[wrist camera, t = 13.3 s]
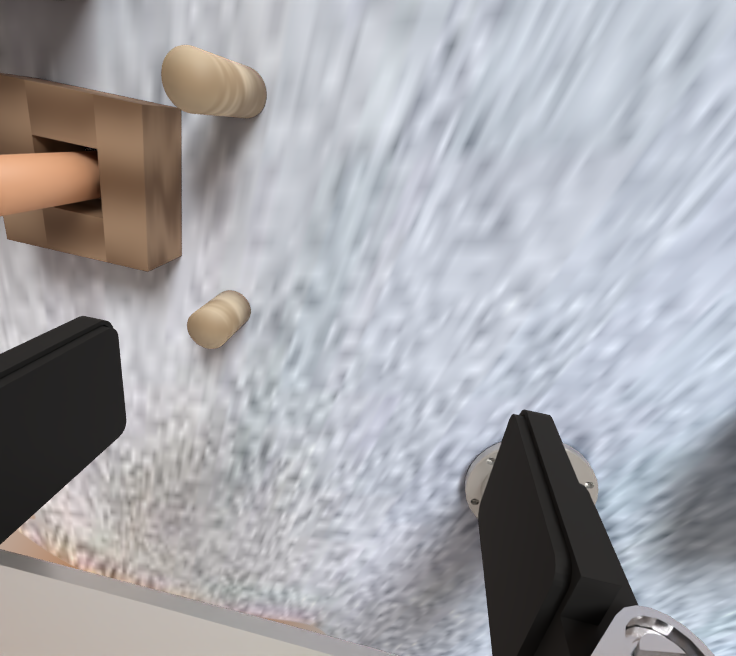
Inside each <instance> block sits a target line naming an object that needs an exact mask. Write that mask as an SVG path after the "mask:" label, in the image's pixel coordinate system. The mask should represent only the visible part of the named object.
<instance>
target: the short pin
mask: <svg viewBox="0 0 736 656" xmlns="http://www.w3.org/2000/svg"><path fill="white" fill-rule="evenodd" d="M250 314H251V308H250V305H249V302H248V301H247V299H246V298H245V297H244V296H243V295H242V294H240V293H238V292H236V291H232V290H228V291H224V292H222V293H220V294H219V295H217V296H216V297H215V298H213V299H212V300H211V301H209V302H208V303H206V304H205V305H204V306H202V307H201V308H200V309H198V310H197V311H196V312H194V313H193V314H192V315H191V316H190V317H189V319H188V322H187V329H188V332H189V335H190V336H191V338H192V339H193V340H194V341H195V342H196V343H197V344H198V345H200V346H202V347H204V348H208V349H216V348H219V347H221V346H222V345H223V344H224V343H225V342H226V341H227V340H228V339H229V338H230V337H231V336H232V335H233V334H234V333H235V332H236V331H237V330H238V329H239V328H240V327H241V326H242V325H243V324H244V323H245V322H246V321H247V320H248V319H249V317H250Z"/></svg>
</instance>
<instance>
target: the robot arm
mask: <svg viewBox="0 0 736 656" xmlns="http://www.w3.org/2000/svg"><path fill="white" fill-rule="evenodd" d="M125 426H126V411H125V401H124V391H123V380H122V370H121V359H120V349H119V339H118V333H117V331H116V330H115V329H114V328H113V326H112V325H111V323H110V322H108V321H105V320H100V319H96V318H91V317H86V316H81V317H78V318H76V319H74V320H71V321H69V322H67V323H65V324H63V325H61V326H59V327H57V328H55V329H52V330H50V331H48V332H46V333H44V334H42V335H40V336H38V337H35V338H33V339H31V340H29V341H27V342H25V343H23V344H21V345H18V346H16V347H14V348H12V349H10V350H8V351H6V352H4V353H1V354H0V544H1V543H2V542H4V541H5V540H6V539H7V538H8V537H9V536H10V535H11V534H12V533H13V532H15V531H16V530H17V529H18V528H19V527H20V526H21V525H22V524H23V523H25V522H26V521H27V520H28V519H29V518H30V517H31V516H32V515H33V514H34V513H36V512H37V511H38V510H39V509H40V508H41V507H42V506H43V505H44V504H46V503H47V502H48V501H49V500H50V499H51V498H52V497H53V496H54V495H55V494H57V493H58V492H59V491H60V490H61V489H62V488H63V487H64V486H65V485H66V484H68V483H69V482H70V481H71V480H72V479H73V478H74V477H75V476H76V475H78V474H79V473H80V472H81V471H82V470H83V469H84V468H85V467H86V466H87V465H89V464H90V463H91V462H92V461H93V460H94V459H95V458H96V457H97V456H98V455H100V454H101V453H102V452H103V451H104V450H105V449H106V448H107V447H108V446H110V445H111V444H112V443H113V442H114V441H115V440H116V439H117V438H118V437H119V436H120V435H121V434H122V433H123V431H124V429H125ZM465 493H466V500H467V503H468V505H469V508H470V509H471V511H472V512H473V514H474V515H475V516H476V517H477V518H478V522H479V532H480V541H481V551H482V560H483V562H482V563H483V570H484V579H485V589H486V598H487V608H488V617H489V627H490V636H491V646H492V655H493V656H714V654H713V653H712V652H711V651H710V650H709V649H708V648H707V646H706V645H705V644H704V643H703V642H702V641H701V640H700V639H699V638H698V637H697V636H696V635H694V634H693V633H692V632H691V631H690V630H689V629H688V628H686V627H685V626H684V625H682V624H681V623H679V622H678V621H676V620H675V619H673V618H672V617H670V616H668V615H667V614H664V613H662V612H659V611H657V610H655V609H652V608H649V607H643V606H638V603H637V601H636V599H635V597H634V594H633V592H632V590H631V587H630V585H629V583H628V580H627V578H626V576H625V574H624V571H623V569H622V567H621V564H620V562H619V560H618V557H617V555H616V553H615V551H614V548H613V546H612V544H611V541H610V539H609V537H608V534H607V532H606V530H605V528H604V525H603V523H602V521H601V518H600V516H599V514H598V512H597V509H596V507H595V503H596V501H597V497H598V482H597V479H596V476H595V474H594V471H593V469H592V468H591V466H590V464H589V462H588V461H587V460H586V459H585V458H584V457H583V455H582V454H581V453H579V452H578V451H576V450H575V449H574V448H572V447H571V446H568V445H566V444H564V443H562V440H561V438H560V436H559V433H558V431H557V428H556V426H555V424H554V421H553V419H552V417H551V416H550V415H547V414H542V413H538V412H533V411H528V410H522V411H521V413H520V414H519V415H516V414H513V415H512V416H511V417H510V419H509V422H508V425H507V428H506V431H505V434H504V436H503V439H502V442H500V443H497V444H495V445H493V446H491V447H490V448H488V449H486V450H485V451H484V452H482V453H481V454H480V455H479V456H478V457H477V458H476V459H475V460H474V461H473V463H472V464H471V466H470V468H469V470H468V472H467V475H466V479H465ZM0 656H399V655H395V654H392V653H389V652H385V651H382V650H378V649H375V648H371V647H368V646H364V645H360V644H356V643H353V642H349V641H345V640H342V639H338V638H334V637H331V636H327V635H323V634H319V633H315V632H312V631H308V630H304V629H301V628H297V627H293V626H290V625H286V624H282V623H279V622H275V621H271V620H267V619H264V618H260V617H256V616H253V615H249V614H245V613H241V612H238V611H234V610H230V609H227V608H223V607H219V606H215V605H212V604H208V603H204V602H200V601H196V600H193V599H189V598H185V597H181V596H177V595H174V594H170V593H166V592H162V591H159V590H155V589H151V588H147V587H143V586H140V585H136V584H132V583H128V582H124V581H121V580H117V579H113V578H109V577H105V576H101V575H98V574H94V573H90V572H86V571H82V570H79V569H74V568H71V567H67V566H63V565H59V564H56V563H52V562H48V561H44V560H40V559H36V558H32V557H28V556H25V555H21V554H17V553H13V552H9V551H5V550H1V549H0Z"/></svg>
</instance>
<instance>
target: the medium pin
mask: <svg viewBox="0 0 736 656" xmlns="http://www.w3.org/2000/svg"><path fill="white" fill-rule="evenodd" d="M161 76H162V83H163V87H164V90H165V92H166V94H167V96H168V97H169V99H170V100H171V101H172V103H173V104H174V105H175V106H176V107H178V108H179V109H181V110H182V111H185V112H187V113H192V114H203V115H214V116H226V117H237V118H252V117H255V116H257V115H258V114H259V113H260V112H261V111H262V110H263V108H264V106H265V103H266V98H267V92H266V86H265V83H264V81H263V79H262V77H261V76H260V75H259V74H258V73H257V72H256V71H255V70H254V69H252V68H250V67H248V66H245V65H242V64H240V63H237V62H234V61H232V60H229V59H226V58H223V57H221V56H218V55H215V54H213V53H210V52H207V51H204V50H202V49H199V48H196V47H193V46H190V45H181V46H177V47H175V48H173V49H172V50H171V51H170V52H169V53H168V54H167V55H166V57H165V59H164V61H163V65H162V71H161Z"/></svg>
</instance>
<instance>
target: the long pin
mask: <svg viewBox="0 0 736 656" xmlns="http://www.w3.org/2000/svg"><path fill="white" fill-rule="evenodd" d="M97 198H101V188H100V175H99V163H98V151H78V152H54V153H30V154H7V155H0V216H5V215H11V214H16V213H21V212H27V211H32V210H38V209H43V208H48V207H54V206H59V205H65V204H70V203H76V202H81V201H86V200H92V199H97Z"/></svg>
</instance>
